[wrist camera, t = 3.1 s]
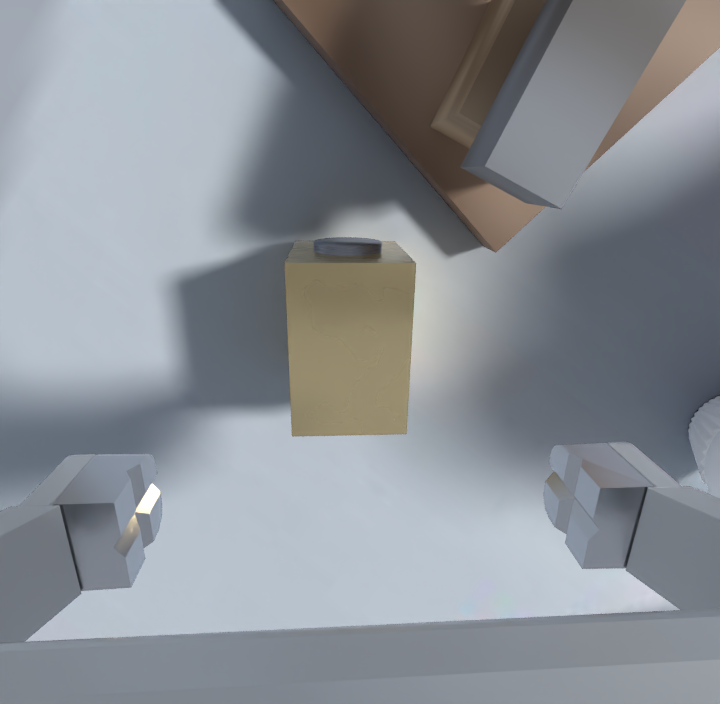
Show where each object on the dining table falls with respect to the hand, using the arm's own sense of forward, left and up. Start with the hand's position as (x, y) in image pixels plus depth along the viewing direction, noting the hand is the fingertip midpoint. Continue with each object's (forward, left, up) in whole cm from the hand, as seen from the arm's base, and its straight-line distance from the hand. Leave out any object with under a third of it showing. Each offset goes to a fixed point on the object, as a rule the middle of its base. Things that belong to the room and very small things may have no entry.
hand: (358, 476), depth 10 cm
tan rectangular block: (0, 0, -11) cm, 11 cm away
